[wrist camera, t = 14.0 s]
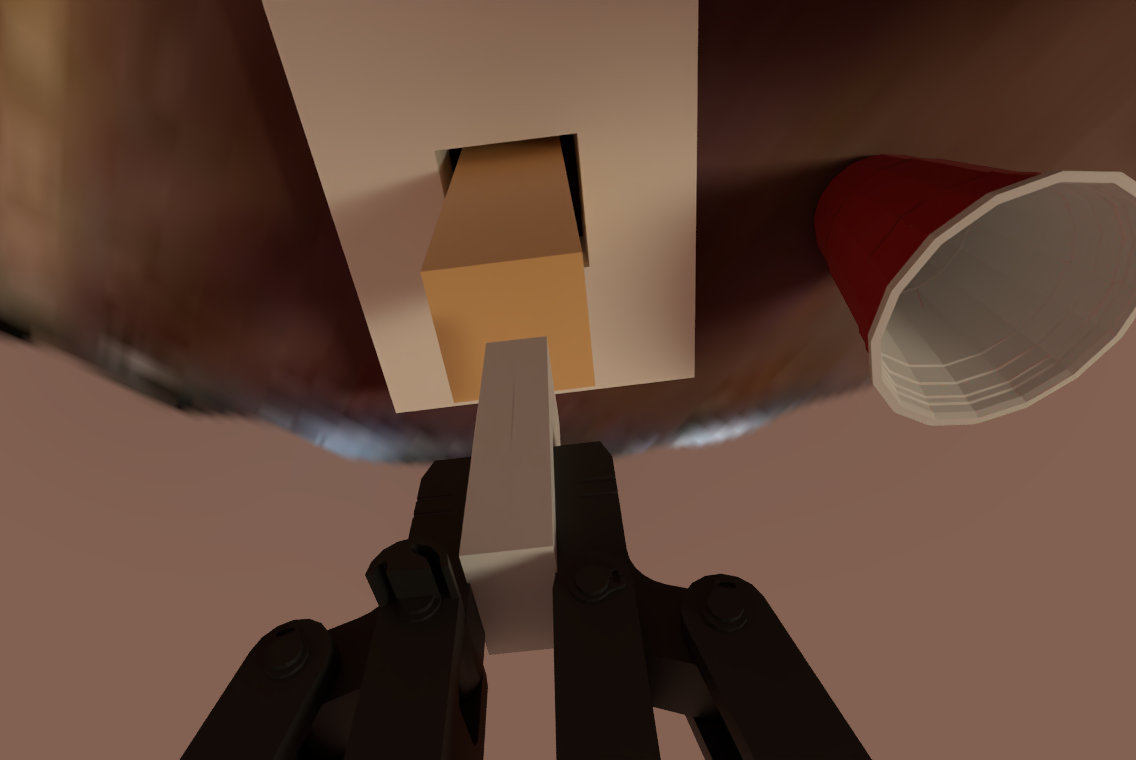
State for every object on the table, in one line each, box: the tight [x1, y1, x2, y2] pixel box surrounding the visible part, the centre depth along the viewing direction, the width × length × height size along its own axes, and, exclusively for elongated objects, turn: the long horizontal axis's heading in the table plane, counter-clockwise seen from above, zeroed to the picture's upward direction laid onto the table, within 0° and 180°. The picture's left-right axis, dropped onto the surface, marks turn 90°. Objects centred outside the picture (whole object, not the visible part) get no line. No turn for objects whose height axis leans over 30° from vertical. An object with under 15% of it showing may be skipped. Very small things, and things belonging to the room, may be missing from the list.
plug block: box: [420, 135, 595, 403], centre depth 25 cm, size 4×4×15 cm
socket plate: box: [262, 0, 698, 413], centre depth 29 cm, size 16×20×4 cm
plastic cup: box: [814, 154, 1136, 426], centre depth 28 cm, size 11×11×12 cm
